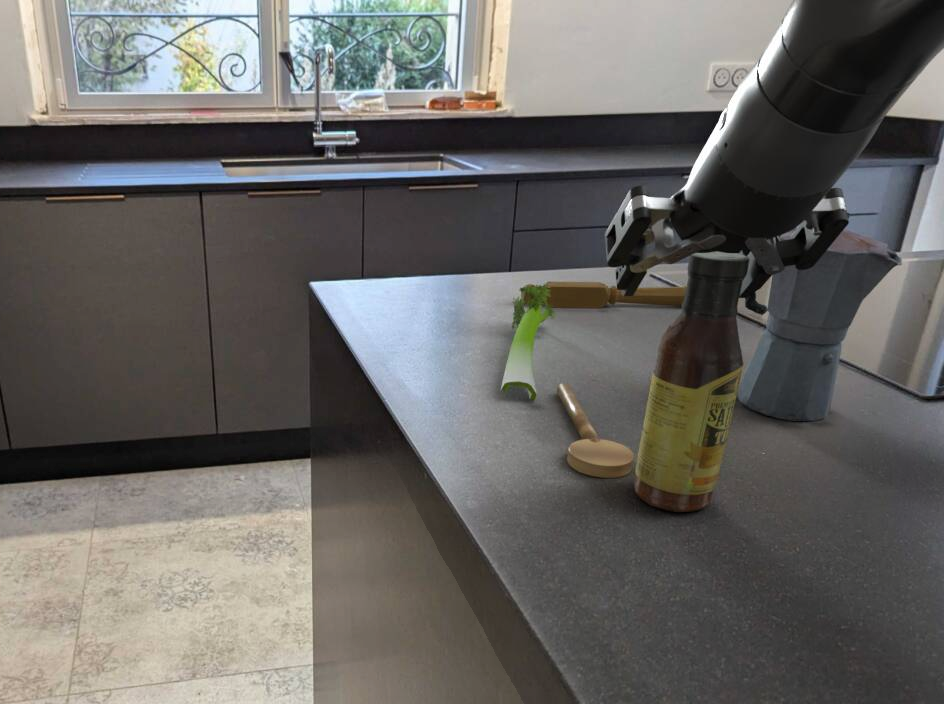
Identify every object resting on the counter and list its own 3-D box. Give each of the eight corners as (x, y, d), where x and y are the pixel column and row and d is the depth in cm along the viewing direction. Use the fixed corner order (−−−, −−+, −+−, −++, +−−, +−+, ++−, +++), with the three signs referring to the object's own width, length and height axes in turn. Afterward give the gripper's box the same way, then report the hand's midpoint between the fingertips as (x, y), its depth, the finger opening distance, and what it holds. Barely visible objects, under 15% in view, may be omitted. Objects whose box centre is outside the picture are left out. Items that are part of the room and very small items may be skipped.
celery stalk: (482, 412, 88) (506, 315, 114) (547, 427, 87) (556, 325, 112) (494, 361, 85) (516, 272, 110) (561, 376, 84) (568, 283, 109)
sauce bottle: (703, 524, 64) (760, 269, 55) (622, 503, 67) (664, 258, 58) (718, 490, 69) (773, 252, 60) (642, 472, 72) (684, 242, 63)
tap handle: (734, 289, 118) (524, 286, 119) (729, 310, 119) (522, 307, 120) (725, 284, 121) (520, 281, 121) (721, 304, 122) (518, 301, 123)
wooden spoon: (535, 392, 89) (536, 380, 88) (587, 393, 89) (589, 381, 88) (574, 477, 71) (576, 462, 70) (639, 478, 71) (642, 464, 70)
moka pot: (829, 441, 78) (891, 226, 69) (684, 392, 89) (722, 202, 81) (876, 418, 83) (938, 215, 74) (733, 375, 94) (773, 194, 86)
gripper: (665, 193, 46) (591, 329, 62) (924, 195, 46) (784, 332, 61) (653, 87, 49) (584, 243, 64) (898, 88, 48) (770, 245, 64)
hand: (682, 286), depth 63 cm, fingers open, 8 cm apart
